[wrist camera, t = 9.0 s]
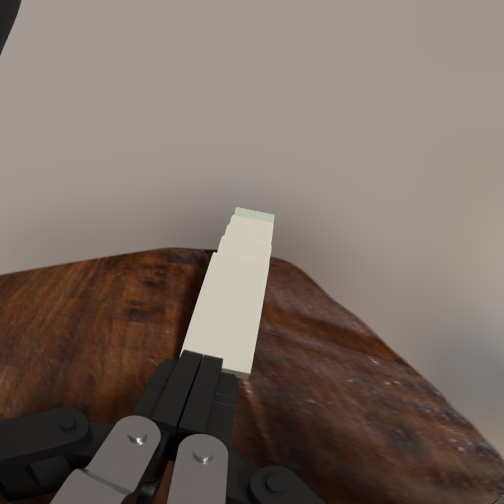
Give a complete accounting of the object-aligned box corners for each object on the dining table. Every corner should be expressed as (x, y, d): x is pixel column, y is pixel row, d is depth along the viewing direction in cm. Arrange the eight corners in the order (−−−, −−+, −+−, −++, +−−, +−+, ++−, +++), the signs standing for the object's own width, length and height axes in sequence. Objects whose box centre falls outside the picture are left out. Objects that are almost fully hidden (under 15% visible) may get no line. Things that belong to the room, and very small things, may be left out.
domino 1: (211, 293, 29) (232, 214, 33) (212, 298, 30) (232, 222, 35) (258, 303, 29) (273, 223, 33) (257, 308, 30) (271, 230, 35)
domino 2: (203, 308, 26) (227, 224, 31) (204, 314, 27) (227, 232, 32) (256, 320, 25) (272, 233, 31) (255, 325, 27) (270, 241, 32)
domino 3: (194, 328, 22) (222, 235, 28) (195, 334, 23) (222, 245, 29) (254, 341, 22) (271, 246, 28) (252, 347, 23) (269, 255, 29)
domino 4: (179, 357, 18) (213, 252, 25) (181, 364, 19) (213, 263, 26) (250, 373, 18) (269, 263, 25) (247, 379, 19) (266, 274, 26)
